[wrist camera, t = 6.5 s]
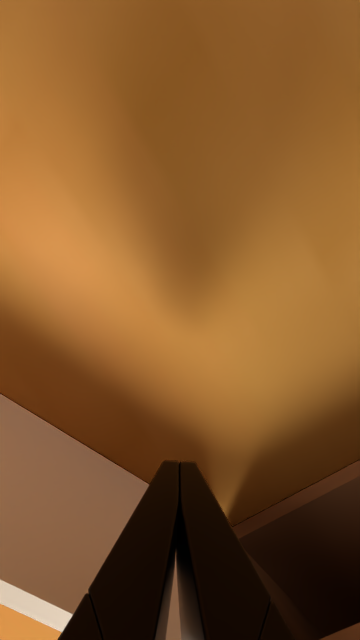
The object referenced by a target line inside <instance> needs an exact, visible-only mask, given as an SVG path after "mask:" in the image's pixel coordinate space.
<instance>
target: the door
mask: <svg viewBox="0 0 360 640" xmlns="http://www.w3.org/2000/svg"><path fill="white" fill-rule="evenodd" d="M148 486H149V484H147V483H146V482H144V481H143V480H141V479H139V478H138V477H136V476H134V475H133V474H131V473H129V472H128V471H126V470H125V469H123V468H121V467H120V466H118V465H116V464H115V463H113V462H111V461H110V460H108V459H106V458H105V457H103V456H102V455H100V454H98V453H97V452H95V451H93V450H92V449H90V448H88V447H87V446H85V445H83V444H82V443H80V442H79V441H77V440H75V439H74V438H72V437H70V436H69V435H67V434H65V433H64V432H62V431H61V430H59V429H57V428H56V427H54V426H52V425H51V424H49V423H47V422H46V421H44V420H42V419H41V418H39V417H38V416H36V415H34V414H33V413H31V412H29V411H28V410H26V409H24V408H23V407H21V406H19V405H18V404H16V403H15V402H13V401H11V400H10V399H8V398H6V397H5V396H3V395H1V394H0V604H2V605H5V606H7V607H9V608H11V609H13V610H15V611H17V612H20V613H22V614H24V615H26V616H28V617H30V618H33V619H35V620H37V621H39V622H41V623H43V624H45V625H48V626H50V627H52V628H54V629H56V630H58V631H61V632H63V630H64V628H65V627H66V625H67V623H68V622H69V620H70V619H71V617H72V615H73V614H74V612H75V610H76V609H77V607H78V605H79V603H80V602H81V600H82V598H83V597H84V595H85V594H86V593H88V589H89V587H90V585H91V583H92V582H93V580H94V578H95V577H96V575H97V573H98V571H99V570H100V568H101V566H102V565H103V563H104V561H105V560H106V558H107V556H108V554H109V553H110V551H111V549H112V548H113V546H114V544H115V542H116V541H117V539H118V537H119V536H120V534H121V532H122V531H123V529H124V527H125V525H126V524H127V522H128V520H129V519H130V517H131V515H132V513H133V512H134V510H135V508H136V507H137V505H138V503H139V502H140V500H141V498H142V496H143V495H144V493H145V491H146V490H147V488H148ZM166 640H181V628H180V615H179V601H178V587H177V572H176V558H175V569H174V578H173V586H172V593H171V601H170V609H169V617H168V624H167V632H166Z"/></svg>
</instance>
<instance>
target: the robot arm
mask: <svg viewBox="0 0 360 640" xmlns="http://www.w3.org/2000/svg"><path fill="white" fill-rule="evenodd" d="M175 558H176V572H177V587H178V601H179V615H180V628H181V640H296V639H295V638H294V636H293V634H292V632H291V631H290V629H289V627H288V626H287V624H286V622H285V620H284V619H283V617H282V615H281V613H280V611H279V610H278V608H277V606H276V604H275V603H274V602H273V601H271V596H270V594H269V592H268V590H267V589H266V587H265V585H264V583H263V581H262V580H261V578H260V576H259V574H258V573H257V571H256V569H255V567H254V565H253V564H252V562H251V560H250V558H249V557H248V555H247V553H246V551H245V549H244V548H243V546H242V544H241V542H240V541H239V539H238V537H237V535H236V533H235V532H234V530H233V528H232V526H231V524H230V523H229V521H228V519H227V517H226V516H225V514H224V512H223V510H222V508H221V507H220V505H219V503H218V501H217V500H216V498H215V496H214V494H213V492H212V491H211V489H210V487H209V485H208V484H207V482H206V480H205V478H204V476H203V475H202V473H201V471H200V469H199V467H198V466H197V464H196V463H195V462H194V461H181V462H180V464H179V462H178V461H176V460H165V461H163V462H162V464H161V466H160V467H159V469H158V471H157V473H156V474H155V476H154V478H153V479H152V481H151V483H150V485H149V486H148V488H147V490H146V491H145V493H144V495H143V496H142V498H141V500H140V502H139V503H138V505H137V507H136V508H135V510H134V512H133V513H132V515H131V517H130V519H129V520H128V522H127V524H126V525H125V527H124V529H123V531H122V532H121V534H120V536H119V537H118V539H117V541H116V542H115V544H114V546H113V548H112V549H111V551H110V553H109V554H108V556H107V558H106V560H105V561H104V563H103V565H102V566H101V568H100V570H99V571H98V573H97V575H96V577H95V578H94V580H93V582H92V583H91V585H90V587H89V589H88V593H86V594H85V595H84V597H83V598H82V600H81V602H80V603H79V605H78V607H77V609H76V610H75V612H74V614H73V615H72V617H71V619H70V620H69V622H68V623H67V625H66V627H65V628H64V630H63V632H62V633H61V635H60V636H59V638H58V640H166V632H167V624H168V617H169V609H170V601H171V593H172V586H173V578H174V569H175Z"/></svg>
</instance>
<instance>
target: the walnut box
mask: <svg viewBox="0 0 360 640" xmlns="http://www.w3.org/2000/svg"><path fill="white" fill-rule="evenodd" d="M232 528H233V530H234V532H235V533H236V535H237V537H238V539H239V541H240V542H241V544H242V546H243V548H244V549H245V551H246V553H247V555H248V557H249V558H250V560H251V562H252V564H253V565H254V567H255V569H256V571H257V573H258V574H259V576H260V578H261V580H262V581H263V583H264V585H265V587H266V589H267V590H268V592H269V594H270V596H271V601H273V602H274V603H275V604H276V606H277V608H278V610H279V611H280V613H281V615H282V617H283V619H284V620H285V622H286V624H287V626H288V627H289V629H290V631H291V632H292V634H293V636H294V638H295V639H296V640H360V460H359V461H357V462H355V463H353V464H351V465H349V466H347V467H345V468H343V469H342V470H340V471H338V472H336V473H334V474H332V475H330V476H328V477H326V478H325V479H323V480H321V481H319V482H317V483H315V484H313V485H311V486H309V487H308V488H306V489H304V490H302V491H300V492H298V493H296V494H294V495H292V496H290V497H289V498H287V499H285V500H283V501H281V502H279V503H277V504H275V505H273V506H272V507H270V508H268V509H266V510H264V511H262V512H260V513H258V514H256V515H255V516H253V517H251V518H249V519H247V520H245V521H243V522H241V523H239V524H238V525H236V526H234V527H232Z"/></svg>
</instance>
